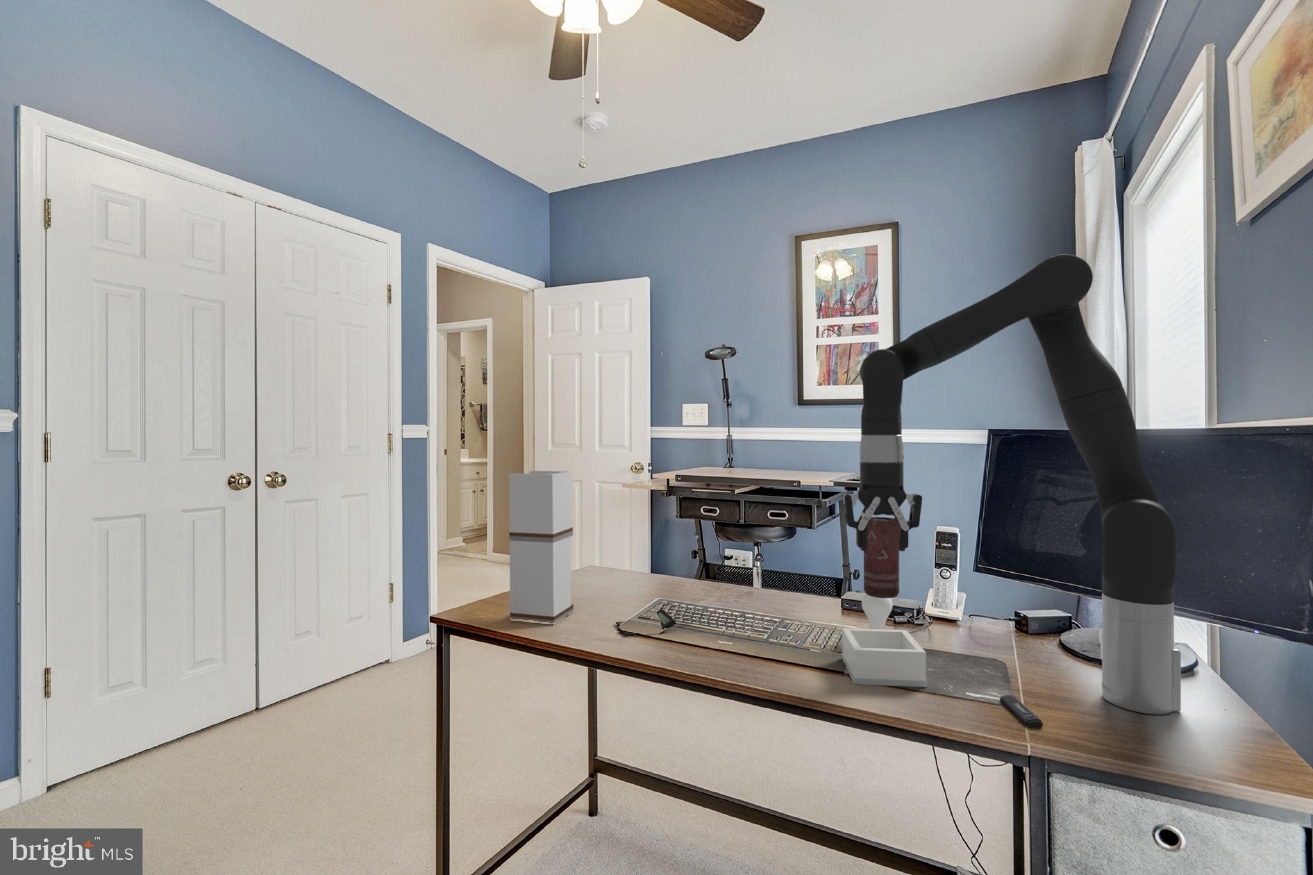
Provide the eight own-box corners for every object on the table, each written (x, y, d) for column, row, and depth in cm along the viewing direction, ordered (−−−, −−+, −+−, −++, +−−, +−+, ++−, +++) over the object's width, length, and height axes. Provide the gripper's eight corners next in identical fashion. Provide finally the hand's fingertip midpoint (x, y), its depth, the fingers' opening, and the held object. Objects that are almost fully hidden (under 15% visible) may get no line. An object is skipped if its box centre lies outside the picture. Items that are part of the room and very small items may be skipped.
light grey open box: (907, 660, 120) (907, 629, 119) (927, 687, 107) (927, 652, 107) (841, 658, 121) (841, 627, 121) (853, 684, 109) (853, 650, 109)
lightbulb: (863, 645, 128) (862, 592, 128) (860, 635, 134) (860, 585, 134) (894, 647, 127) (894, 594, 127) (890, 637, 133) (890, 586, 133)
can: (903, 599, 110) (903, 521, 110) (866, 597, 112) (866, 520, 112) (897, 590, 116) (897, 516, 116) (862, 589, 118) (861, 515, 117)
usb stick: (998, 702, 102) (998, 693, 102) (1015, 703, 102) (1015, 693, 102) (1026, 730, 93) (1026, 719, 93) (1045, 730, 92) (1045, 720, 92)
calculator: (615, 625, 143) (615, 612, 143) (663, 620, 147) (663, 608, 147) (626, 638, 134) (625, 624, 134) (676, 633, 138) (676, 619, 138)
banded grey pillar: (573, 612, 153) (572, 471, 153) (553, 625, 143) (552, 474, 143) (532, 608, 156) (531, 470, 156) (510, 621, 146) (508, 473, 146)
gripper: (916, 458, 117) (916, 547, 117) (837, 458, 118) (838, 546, 118) (928, 460, 109) (929, 555, 109) (844, 460, 111) (845, 553, 111)
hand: (882, 550), depth 114 cm, fingers closed on can, 6 cm apart
